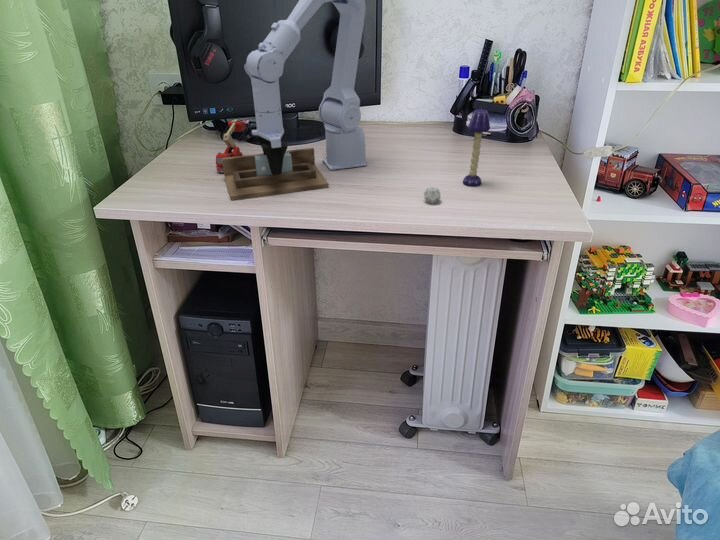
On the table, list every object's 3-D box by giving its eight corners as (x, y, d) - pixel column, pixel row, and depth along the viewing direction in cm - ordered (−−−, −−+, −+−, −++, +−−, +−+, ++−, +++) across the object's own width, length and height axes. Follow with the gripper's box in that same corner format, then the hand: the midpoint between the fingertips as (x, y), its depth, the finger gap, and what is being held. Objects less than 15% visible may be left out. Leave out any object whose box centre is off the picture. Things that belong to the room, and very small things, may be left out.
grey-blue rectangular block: (291, 174, 129) (289, 152, 126) (293, 179, 126) (291, 156, 124) (257, 179, 127) (254, 156, 124) (259, 183, 124) (256, 160, 122)
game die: (443, 203, 116) (444, 190, 114) (427, 206, 115) (428, 193, 114) (436, 197, 119) (436, 184, 117) (420, 199, 118) (421, 186, 116)
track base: (314, 167, 136) (313, 147, 133) (328, 187, 124) (327, 166, 122) (224, 178, 130) (221, 158, 128) (231, 200, 119) (228, 179, 116)
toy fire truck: (215, 173, 133) (209, 135, 128) (237, 155, 145) (232, 119, 140) (228, 174, 132) (222, 135, 127) (249, 156, 144) (244, 119, 139)
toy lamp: (485, 181, 126) (493, 108, 118) (482, 188, 123) (490, 114, 114) (464, 178, 128) (470, 107, 119) (460, 186, 124) (467, 112, 115)
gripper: (245, 103, 124) (252, 160, 131) (254, 120, 112) (261, 182, 119) (276, 100, 125) (281, 157, 132) (288, 116, 113) (293, 178, 120)
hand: (274, 168), depth 126 cm, fingers open, 6 cm apart
